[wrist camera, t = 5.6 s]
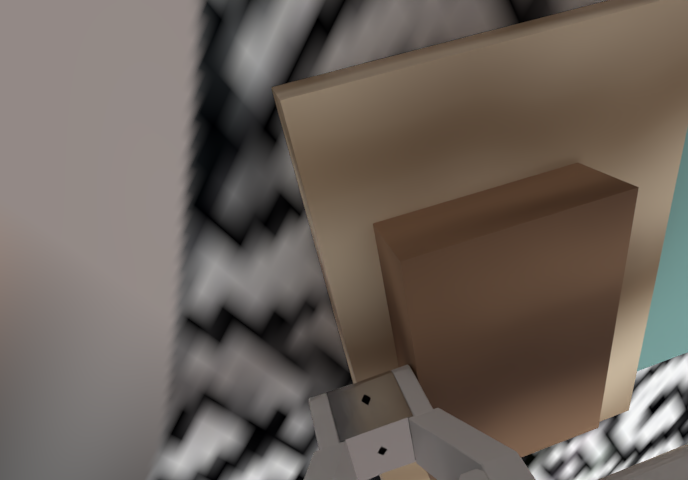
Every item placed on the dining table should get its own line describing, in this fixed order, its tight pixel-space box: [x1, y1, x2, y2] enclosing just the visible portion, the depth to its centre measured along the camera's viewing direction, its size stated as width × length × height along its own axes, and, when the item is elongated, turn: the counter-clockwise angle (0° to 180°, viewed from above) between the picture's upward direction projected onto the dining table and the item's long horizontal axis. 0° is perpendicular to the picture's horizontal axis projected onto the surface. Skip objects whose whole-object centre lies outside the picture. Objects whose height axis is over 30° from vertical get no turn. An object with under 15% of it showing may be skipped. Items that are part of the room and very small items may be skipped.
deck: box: [271, 0, 688, 480], centre depth 15 cm, size 16×11×2 cm
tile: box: [373, 163, 639, 480], centre depth 13 cm, size 9×6×2 cm, turn 11°
